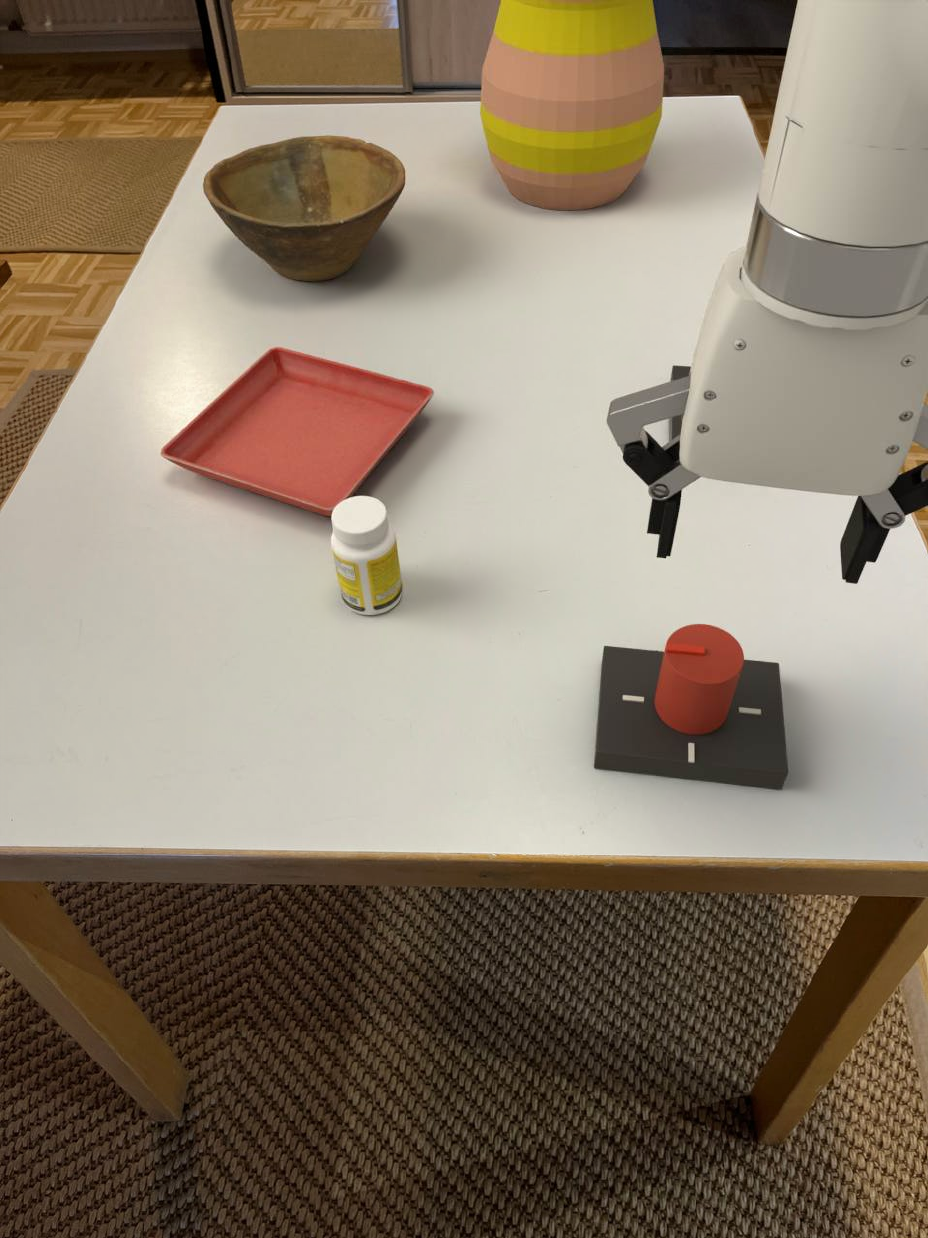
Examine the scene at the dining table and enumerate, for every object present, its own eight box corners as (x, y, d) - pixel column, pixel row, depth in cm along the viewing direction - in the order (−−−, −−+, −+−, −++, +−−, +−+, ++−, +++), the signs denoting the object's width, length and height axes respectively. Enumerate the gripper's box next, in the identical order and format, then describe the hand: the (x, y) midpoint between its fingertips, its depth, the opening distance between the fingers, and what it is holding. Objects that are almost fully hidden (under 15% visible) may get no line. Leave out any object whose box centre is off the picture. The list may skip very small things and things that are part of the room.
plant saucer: (339, 539, 76) (333, 509, 73) (165, 481, 82) (154, 451, 79) (439, 417, 86) (437, 387, 84) (279, 373, 92) (272, 344, 90)
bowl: (408, 210, 115) (401, 125, 107) (415, 306, 100) (408, 215, 92) (232, 221, 114) (213, 137, 107) (212, 319, 99) (189, 229, 92)
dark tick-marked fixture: (772, 680, 65) (779, 661, 63) (781, 790, 59) (789, 772, 58) (601, 662, 67) (604, 643, 65) (593, 768, 61) (596, 750, 59)
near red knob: (726, 680, 63) (743, 624, 58) (729, 739, 59) (747, 684, 55) (655, 673, 63) (666, 617, 59) (653, 730, 60) (665, 676, 56)
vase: (468, 156, 125) (461, -124, 103) (626, 141, 127) (653, -138, 104) (498, 231, 111) (497, -76, 88) (675, 212, 112) (719, -93, 90)
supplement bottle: (404, 572, 73) (395, 491, 67) (400, 617, 70) (390, 536, 64) (344, 572, 73) (329, 492, 67) (338, 617, 70) (321, 536, 64)
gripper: (1058, 221, 38) (916, 526, 51) (636, 192, 41) (603, 488, 54) (1098, 317, 33) (931, 627, 46) (617, 276, 36) (586, 579, 49)
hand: (754, 552), depth 50 cm, fingers open, 9 cm apart
